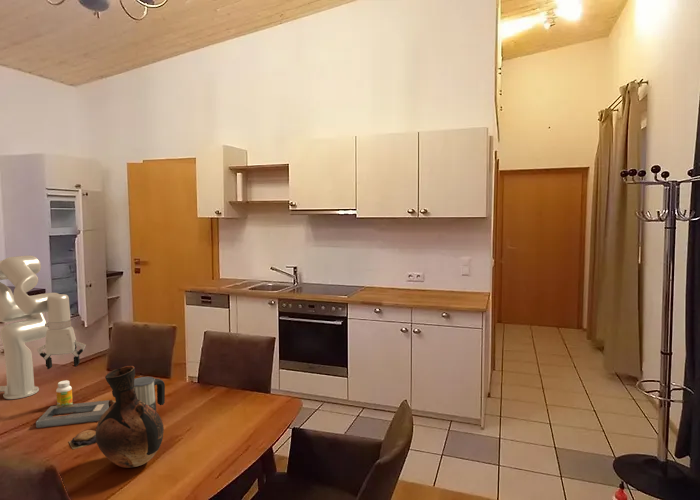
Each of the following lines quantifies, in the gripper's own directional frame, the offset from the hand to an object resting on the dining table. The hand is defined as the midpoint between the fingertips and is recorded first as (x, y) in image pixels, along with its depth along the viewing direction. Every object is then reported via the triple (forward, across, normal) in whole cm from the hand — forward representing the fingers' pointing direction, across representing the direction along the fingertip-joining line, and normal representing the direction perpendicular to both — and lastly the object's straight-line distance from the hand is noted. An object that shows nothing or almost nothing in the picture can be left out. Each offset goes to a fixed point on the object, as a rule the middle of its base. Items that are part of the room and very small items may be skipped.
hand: (63, 366), depth 185 cm
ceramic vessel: (+18, +35, -54) cm, 67 cm away
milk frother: (+17, +31, -18) cm, 40 cm away
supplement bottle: (+16, -1, 0) cm, 16 cm away
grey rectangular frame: (+16, +7, -12) cm, 22 cm away
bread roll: (+18, +18, -35) cm, 43 cm away
